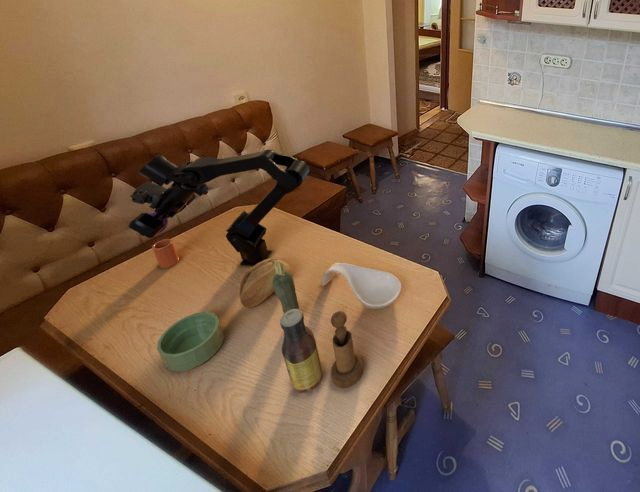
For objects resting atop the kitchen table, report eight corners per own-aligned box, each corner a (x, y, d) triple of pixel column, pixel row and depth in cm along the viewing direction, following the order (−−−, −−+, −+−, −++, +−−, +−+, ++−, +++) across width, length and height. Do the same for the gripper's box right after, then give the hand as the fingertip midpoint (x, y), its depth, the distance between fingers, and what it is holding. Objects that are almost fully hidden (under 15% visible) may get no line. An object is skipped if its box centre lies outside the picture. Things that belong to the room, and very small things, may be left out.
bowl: (234, 329, 88) (229, 313, 85) (202, 374, 77) (195, 357, 75) (189, 327, 88) (183, 311, 86) (152, 372, 78) (143, 355, 75)
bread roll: (230, 306, 94) (222, 284, 90) (273, 267, 107) (268, 246, 104) (260, 316, 91) (253, 293, 88) (300, 274, 104) (295, 253, 101)
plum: (176, 226, 106) (169, 208, 103) (159, 240, 100) (151, 221, 98) (155, 225, 106) (147, 207, 104) (136, 239, 100) (128, 220, 98)
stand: (182, 257, 110) (175, 239, 107) (171, 268, 106) (163, 249, 103) (168, 256, 110) (160, 238, 107) (155, 267, 106) (147, 249, 103)
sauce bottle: (298, 366, 79) (281, 301, 71) (327, 365, 80) (313, 300, 72) (287, 397, 73) (267, 330, 65) (318, 395, 74) (302, 328, 66)
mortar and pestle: (354, 391, 75) (344, 331, 68) (326, 384, 76) (313, 325, 69) (368, 361, 81) (360, 304, 74) (342, 356, 82) (332, 298, 75)
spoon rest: (409, 288, 101) (408, 269, 98) (387, 322, 90) (385, 301, 87) (339, 267, 107) (336, 248, 105) (311, 296, 97) (307, 276, 94)
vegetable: (306, 318, 91) (292, 257, 83) (293, 332, 87) (278, 270, 79) (292, 313, 92) (277, 252, 84) (279, 327, 88) (262, 265, 80)
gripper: (173, 160, 105) (145, 194, 108) (123, 194, 88) (92, 233, 91) (208, 183, 109) (180, 214, 112) (167, 220, 92) (136, 255, 95)
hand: (149, 227), depth 102 cm, fingers closed on plum, 6 cm apart
